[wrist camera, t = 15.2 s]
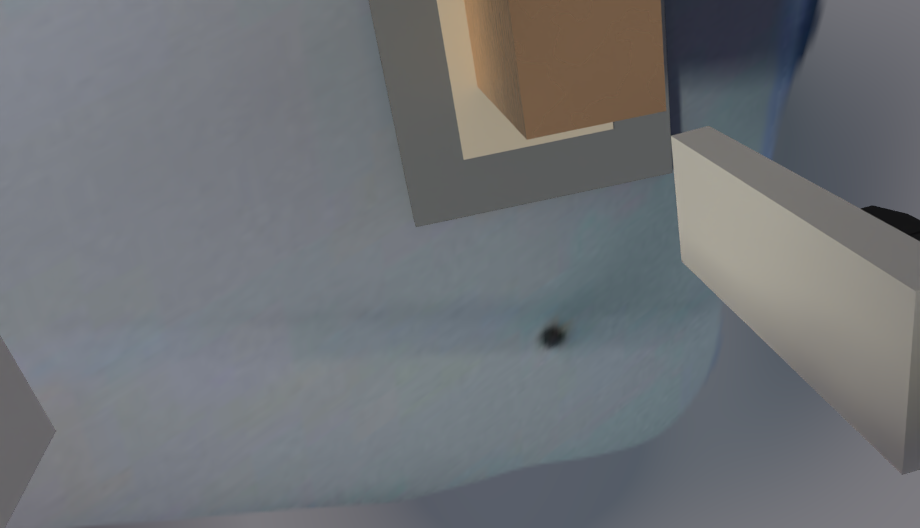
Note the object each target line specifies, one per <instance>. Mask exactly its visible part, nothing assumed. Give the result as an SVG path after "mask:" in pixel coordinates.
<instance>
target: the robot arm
mask: <svg viewBox="0 0 920 528" xmlns="http://www.w3.org/2000/svg"><path fill="white" fill-rule="evenodd" d="M671 143H672V155H673V166H674V178H675V189H676V201H677V212H678V224H679V235H680V247H681V258H682V262H683V263H684V264H685V265H686V266H687V267H688V268H689V269H690V270H691V271H692V272H693V273H694V274H695V275H696V276H697V277H699V278H700V279H701V280H702V281H703V282H704V283H705V284H706V285H707V286H708V287H709V288H710V289H711V290H712V291H713V292H714V293H715V294H716V295H717V296H718V297H719V298H720V299H721V300H722V301H723V302H724V303H725V304H726V305H728V307H730V308H731V309H732V310H733V311H734V312H735V313H736V314H737V315H738V316H739V317H740V318H741V319H742V320H743V321H744V322H745V323H746V324H747V325H748V326H749V327H750V328H751V329H752V330H753V331H754V332H755V333H756V334H757V335H759V337H761V338H762V339H763V340H764V341H765V342H766V343H767V344H768V345H769V346H770V347H771V348H772V349H773V350H774V351H775V352H776V353H777V354H778V355H779V356H780V357H781V358H782V359H783V360H784V361H785V362H786V363H787V364H788V365H789V366H790V367H792V368H793V369H794V370H795V371H796V372H797V373H798V374H799V375H800V376H801V377H802V378H803V379H804V380H805V381H806V382H807V383H808V384H809V385H810V386H811V387H812V388H813V389H814V390H815V391H816V392H817V393H818V394H819V395H821V397H822V398H824V399H825V400H826V401H827V402H828V403H829V404H830V405H831V406H832V407H833V408H834V409H835V410H836V411H837V412H838V413H839V414H840V415H841V416H842V417H843V418H844V419H845V420H846V421H847V422H848V423H849V424H850V425H852V427H854V429H856V430H857V431H858V432H859V433H860V434H861V435H862V436H863V437H864V438H865V439H866V440H867V441H868V442H869V443H870V444H871V445H872V446H873V447H874V448H875V449H876V450H877V451H878V452H879V453H880V454H881V455H882V456H883V457H884V458H885V459H887V460H888V461H889V462H890V463H891V464H892V465H893V466H894V467H895V468H896V469H897V470H898V471H899V472H900V473H901V474H902V475H903V474H906V473H910V472H913V471H917V470H920V220H918V219H916V218H915V217H913V216H910V215H909V214H905V213H902V212H898V211H893V210H889V209H885V208H880V207H877V206H869V207H865V208H861V209H860V208H858V207H856V206H854V205H852V204H850V203H849V202H847V201H845V200H843V199H841V198H839V197H837V196H836V195H834V194H832V193H830V192H828V191H827V190H825V189H823V188H821V187H819V186H818V185H816V184H814V183H812V182H810V181H808V180H806V179H805V178H803V177H801V176H799V175H797V174H796V173H794V172H792V171H790V170H788V169H786V168H784V167H783V166H781V165H779V164H777V163H775V162H774V161H772V160H770V159H768V158H766V157H764V156H763V155H761V154H759V153H757V152H755V151H753V150H752V149H750V148H748V147H746V146H744V145H743V144H741V143H739V142H737V141H735V140H733V139H732V138H730V137H728V136H726V135H724V134H722V133H721V132H719V131H717V130H715V129H713V128H711V127H710V126H707V127H703V128H699V129H695V130H691V131H688V132H684V133H680V134H676V135H672V136H671ZM55 432H56V430H55V429H54V427H53V425H52V423H51V422H50V420H49V418H48V417H47V415H46V413H45V411H44V410H43V408H42V406H41V405H40V403H39V401H38V399H37V398H36V396H35V394H34V392H33V391H32V389H31V387H30V386H29V384H28V382H27V380H26V379H25V377H24V375H23V374H22V372H21V370H20V368H19V367H18V365H17V363H16V362H15V360H14V358H13V356H12V355H11V353H10V351H9V349H8V348H7V346H6V344H5V343H4V341H3V339H2V337H1V336H0V528H5V527H6V525H7V523H8V521H9V519H10V517H11V516H12V514H13V512H14V510H15V508H16V506H17V504H18V502H19V500H20V498H21V496H22V495H23V493H24V491H25V489H26V487H27V485H28V483H29V481H30V479H31V477H32V476H33V474H34V472H35V470H36V468H37V466H38V464H39V462H40V460H41V458H42V456H43V455H44V453H45V451H46V449H47V447H48V445H49V443H50V441H51V439H52V437H53V436H54V434H55Z"/></svg>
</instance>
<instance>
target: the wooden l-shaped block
mask: <svg viewBox="0 0 920 528" xmlns="http://www.w3.org/2000/svg"><path fill="white" fill-rule="evenodd" d="M464 4H465V10H466V17H467V23H468V29H469V36H470V42H471V48H472V55H473V61H474V68H475V74H476V80H477V87H478V88H479V89H480V90H481V91H482V92H483V93H484V94H485V95H486V96H487V98H488V99H489V100H490V101H491V102H492V103H493V104H494V105H495V106H496V107H497V108H498V109H499V110H500V112H501V113H502V114H503V115H504V116H505V117H506V118H507V119H508V120H509V121H510V122H511V123H512V124H513V125H514V127H515V128H516V129H517V130H518V131H519V132H520V133H521V134H522V135H523V136H524V137H525V138H526V139H527V140H528V139H533V138H538V137H543V136H548V135H553V134H557V133H562V132H567V131H572V130H577V129H581V128H586V127H591V126H596V125H601V124H606V123H610V122H615V121H620V120H625V119H630V118H634V117H639V116H644V115H649V114H654V113H659V112H663V111H666V94H665V75H664V55H663V35H662V15H661V0H464Z"/></svg>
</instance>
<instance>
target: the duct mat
mask: <svg viewBox="0 0 920 528" xmlns="http://www.w3.org/2000/svg"><path fill="white" fill-rule="evenodd" d="M369 5H370V10H371V14H372V19H373V24H374V29H375V34H376V38H377V43H378V48H379V53H380V58H381V63H382V67H383V72H384V77H385V82H386V87H387V92H388V96H389V101H390V106H391V111H392V116H393V121H394V125H395V130H396V135H397V140H398V145H399V150H400V154H401V159H402V164H403V169H404V174H405V178H406V183H407V188H408V193H409V198H410V203H411V207H412V212H413V217H414V222H415V226H416V227H419V226H423V225H428V224H433V223H438V222H442V221H447V220H452V219H457V218H461V217H466V216H471V215H475V214H480V213H485V212H490V211H494V210H499V209H504V208H508V207H513V206H518V205H523V204H527V203H532V202H537V201H541V200H546V199H551V198H556V197H560V196H565V195H570V194H575V193H579V192H584V191H589V190H593V189H598V188H603V187H608V186H612V185H617V184H622V183H626V182H631V181H636V180H641V179H645V178H650V177H655V176H660V175H664V174H669V173H672V153H671V131H670V110H669V89H668V68H667V47H666V26H665V5H664V0H661V15H662V35H663V55H664V75H665V94H666V111H663V112H659V113H654V114H649V115H644V116H639V117H634V118H630V119H625V120H620V121H615V122H610V123H606V124H601V125H596V126H591V127H586V128H581V129H577V130H572V131H567V132H562V133H557V134H553V135H548V136H543V137H538V138H533V139H528V140H527V139H526V138H525V137H524V136H523V135H522V134H521V133H520V132H519V131H518V130H517V129H516V128H515V127H514V125H513V124H512V123H511V122H510V121H509V120H508V119H507V118H506V117H505V116H504V115H503V114H502V113H501V112H500V110H499V109H498V108H497V107H496V106H495V105H494V104H493V103H492V102H491V101H490V100H489V99H488V98H487V96H486V95H485V94H484V93H483V92H482V91H481V90H480V89H479V88H478V87H477V80H476V74H475V68H474V61H473V55H472V48H471V42H470V36H469V29H468V23H467V17H466V10H465V4H464V0H369Z"/></svg>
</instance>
